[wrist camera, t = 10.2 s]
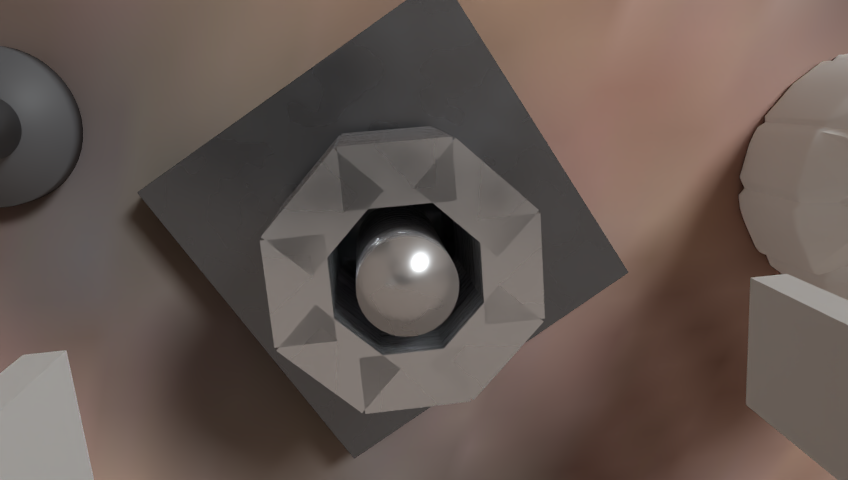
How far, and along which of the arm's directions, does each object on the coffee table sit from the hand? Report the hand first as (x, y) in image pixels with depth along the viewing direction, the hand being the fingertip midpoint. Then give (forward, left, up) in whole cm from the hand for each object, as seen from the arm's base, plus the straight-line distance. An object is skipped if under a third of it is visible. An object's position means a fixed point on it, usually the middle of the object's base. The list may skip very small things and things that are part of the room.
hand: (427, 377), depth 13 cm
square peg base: (0, 0, -16) cm, 16 cm away
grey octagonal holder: (0, 0, -13) cm, 13 cm away
